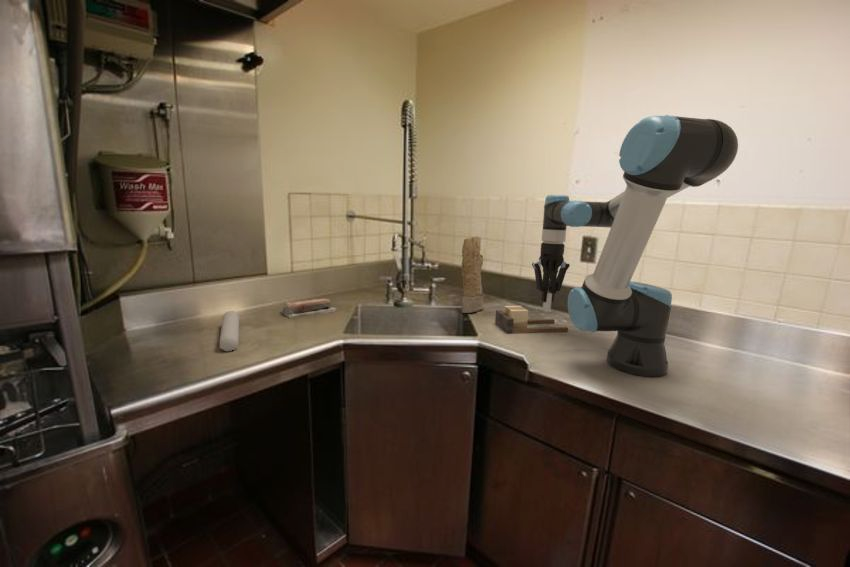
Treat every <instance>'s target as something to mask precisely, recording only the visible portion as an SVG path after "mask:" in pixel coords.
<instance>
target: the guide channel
mask: <svg viewBox="0 0 850 567" xmlns="http://www.w3.org/2000/svg"><path fill="white" fill-rule="evenodd" d="M494 320H495V322H494V324H495V325H496V326H497V327H498V328H499V329H500V330H502V331H503V332H504V333H505V334H507V335H508V334H538V333H539V334H541V333H546V334H548V333H568V331H569V327H568V326H539V327H538V326H537V327H536V326H535V327H531V326H530V327H527V328H513V322H514V319H513V318H511V317H510V316H508V315H507V314H506V313H504V310H501V309H500V310H498V309H497V310H496V311H495V319H494ZM551 324H552V325H553V324H555V319H553V318H532V319H531V318H528V322H527V325H551Z"/></svg>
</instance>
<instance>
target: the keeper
mask: <svg viewBox="0 0 850 567" xmlns="http://www.w3.org/2000/svg"><path fill="white" fill-rule="evenodd" d="M503 312H504V313H506V314H507V315H508V316H510V317H511V318H513V319H514V322H513V328H528V324H527V322H528V319H529V312H530V311H529V310H528V309H526V308H525V307H523V306H522V305H504V306H503Z"/></svg>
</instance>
